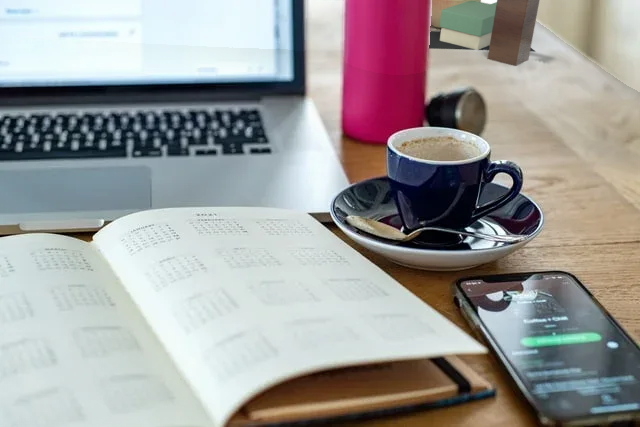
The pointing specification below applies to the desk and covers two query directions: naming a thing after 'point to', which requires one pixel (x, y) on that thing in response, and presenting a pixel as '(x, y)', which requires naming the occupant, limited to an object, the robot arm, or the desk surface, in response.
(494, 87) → the desk surface
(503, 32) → the shelf stand
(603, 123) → the desk surface
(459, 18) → the brush
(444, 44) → the mat
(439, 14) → the apple
